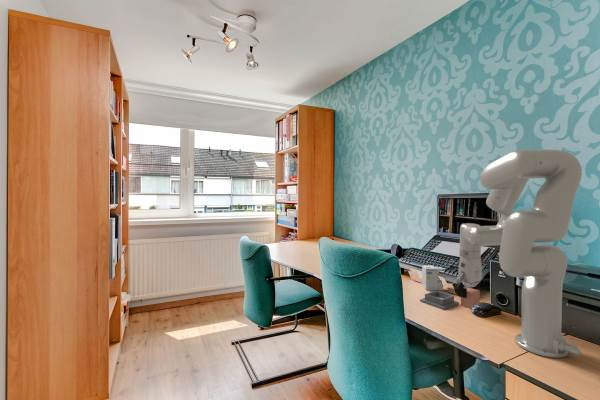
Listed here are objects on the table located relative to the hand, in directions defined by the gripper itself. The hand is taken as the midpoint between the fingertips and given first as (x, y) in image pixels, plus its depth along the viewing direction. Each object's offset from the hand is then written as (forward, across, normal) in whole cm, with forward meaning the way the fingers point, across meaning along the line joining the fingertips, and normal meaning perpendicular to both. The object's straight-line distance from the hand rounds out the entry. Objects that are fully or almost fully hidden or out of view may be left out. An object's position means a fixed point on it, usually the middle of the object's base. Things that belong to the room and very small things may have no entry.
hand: (468, 294), depth 123 cm
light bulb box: (+6, +8, +21) cm, 23 cm away
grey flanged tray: (+5, -7, +9) cm, 12 cm away
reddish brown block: (+5, 0, -1) cm, 5 cm away
